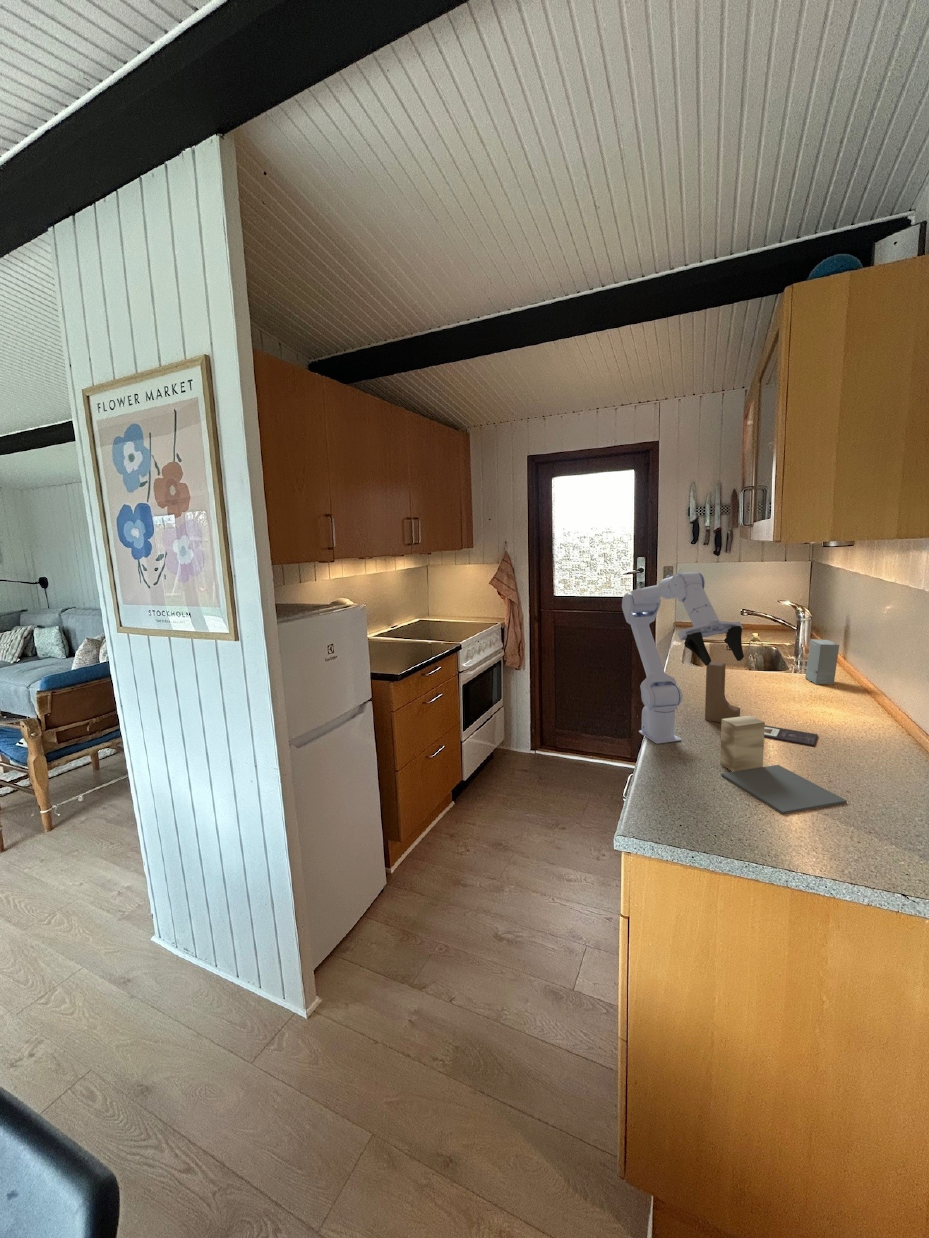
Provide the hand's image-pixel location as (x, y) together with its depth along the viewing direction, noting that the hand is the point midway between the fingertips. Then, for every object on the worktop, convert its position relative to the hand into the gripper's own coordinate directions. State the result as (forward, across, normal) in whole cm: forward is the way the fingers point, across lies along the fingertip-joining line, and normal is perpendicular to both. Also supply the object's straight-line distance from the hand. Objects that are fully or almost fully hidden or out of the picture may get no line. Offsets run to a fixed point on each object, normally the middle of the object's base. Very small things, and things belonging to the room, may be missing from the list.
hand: (724, 661), depth 114 cm
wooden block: (-3, +19, +48) cm, 52 cm away
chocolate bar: (+7, +28, +40) cm, 49 cm away
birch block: (+17, +6, +25) cm, 31 cm away
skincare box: (-21, +76, +75) cm, 108 cm away
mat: (+26, +8, +16) cm, 31 cm away
